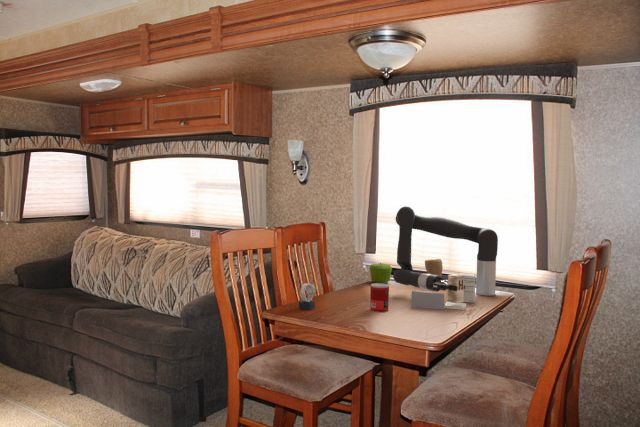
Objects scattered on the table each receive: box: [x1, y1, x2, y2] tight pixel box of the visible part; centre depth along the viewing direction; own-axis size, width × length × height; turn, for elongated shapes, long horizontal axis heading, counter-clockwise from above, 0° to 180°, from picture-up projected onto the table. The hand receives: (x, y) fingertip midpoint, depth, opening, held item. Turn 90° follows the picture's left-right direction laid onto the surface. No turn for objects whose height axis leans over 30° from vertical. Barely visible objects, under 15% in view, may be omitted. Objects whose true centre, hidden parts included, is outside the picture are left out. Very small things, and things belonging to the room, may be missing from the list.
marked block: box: [446, 273, 464, 303], centre depth 234 cm, size 5×5×12 cm
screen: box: [410, 290, 445, 310], centre depth 232 cm, size 2×14×7 cm, turn 70°
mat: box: [444, 301, 467, 311], centre depth 234 cm, size 9×9×1 cm
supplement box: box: [458, 272, 476, 303], centre depth 248 cm, size 7×7×13 cm
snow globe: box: [298, 282, 316, 311], centre depth 227 cm, size 6×8×11 cm
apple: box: [369, 262, 393, 284], centre depth 293 cm, size 12×12×11 cm
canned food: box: [369, 282, 390, 313], centre depth 227 cm, size 8×8×11 cm
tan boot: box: [424, 258, 444, 278], centre depth 285 cm, size 15×12×15 cm
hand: (460, 287), depth 232 cm, fingers closed on marked block, 5 cm apart
